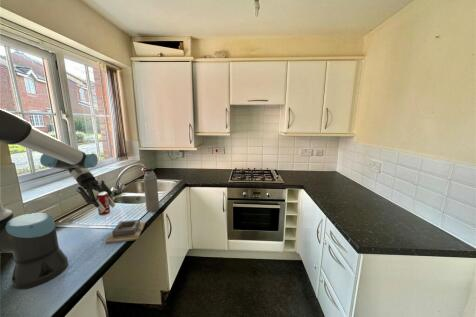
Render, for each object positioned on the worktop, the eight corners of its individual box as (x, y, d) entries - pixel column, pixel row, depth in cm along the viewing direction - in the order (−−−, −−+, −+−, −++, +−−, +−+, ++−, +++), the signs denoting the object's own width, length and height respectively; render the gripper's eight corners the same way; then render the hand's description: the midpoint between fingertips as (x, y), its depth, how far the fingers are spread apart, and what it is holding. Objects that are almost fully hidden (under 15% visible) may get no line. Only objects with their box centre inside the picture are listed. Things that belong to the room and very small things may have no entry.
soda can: (108, 210, 107) (106, 190, 105) (111, 213, 104) (109, 193, 101) (97, 214, 103) (94, 193, 101) (100, 217, 100) (97, 195, 97)
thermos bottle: (151, 205, 132) (148, 167, 127) (161, 206, 131) (158, 168, 126) (143, 211, 125) (139, 170, 119) (154, 212, 123) (150, 171, 118)
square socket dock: (137, 239, 94) (136, 232, 93) (105, 243, 91) (104, 235, 91) (145, 223, 110) (144, 216, 109) (119, 226, 107) (118, 219, 106)
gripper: (97, 176, 113) (120, 205, 111) (61, 185, 96) (88, 220, 94) (102, 168, 111) (126, 198, 109) (66, 176, 94) (94, 211, 92)
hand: (108, 208), depth 101 cm, fingers closed on soda can, 5 cm apart
